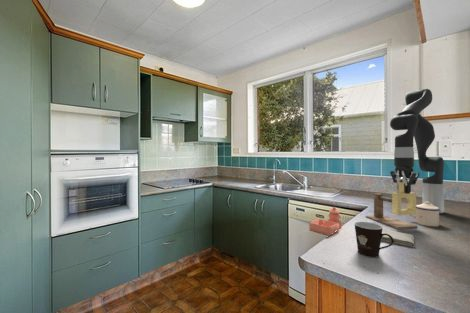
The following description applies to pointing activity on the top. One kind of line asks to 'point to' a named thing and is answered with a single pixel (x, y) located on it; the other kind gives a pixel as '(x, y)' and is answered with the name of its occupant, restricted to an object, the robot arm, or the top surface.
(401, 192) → the brass link
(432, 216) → the teacup with lid
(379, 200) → the walnut stand
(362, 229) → the coffee mug
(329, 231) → the pottery
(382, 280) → the top surface
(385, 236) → the washcloth
